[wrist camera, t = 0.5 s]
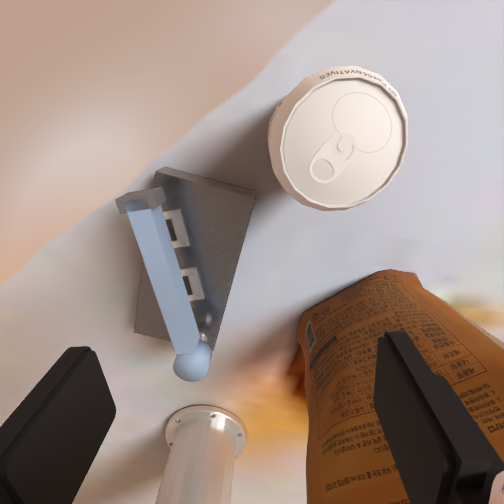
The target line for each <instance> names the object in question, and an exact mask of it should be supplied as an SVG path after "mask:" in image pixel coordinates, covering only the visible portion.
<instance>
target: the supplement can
mask: <svg viewBox="0 0 504 504" xmlns="http://www.w3.org/2000/svg"><path fill="white" fill-rule="evenodd" d="M267 138H268V147H269V152H270V158H271V163H272V168H273V172H274V174H275V175H276V177H277V179H278V180H279V182H280V184H281V185H282V187H283V189H284V190H285V191H286V192H287V193H288V194H289V195H291V196H292V197H293V198H295V199H296V200H297V201H298V202H300V203H301V204H303V205H306V206H309V207H312V208H315V209H318V210H321V211H334V210H346V209H349V208H352V207H354V206H357V205H360V204H363V203H365V202H367V201H368V200H370V199H371V198H373V197H374V196H375V195H376V194H378V193H379V192H380V191H382V190H383V189H384V188H385V187H387V186H388V184H389V183H390V182H391V180H392V179H393V177H394V176H395V175H396V173H397V172H398V170H399V169H400V167H401V165H402V162H403V159H404V156H405V152H406V149H407V146H408V119H407V114H406V111H405V109H404V106H403V104H402V102H401V99H400V97H399V94H398V92H397V91H396V90H395V89H394V88H393V87H392V86H391V85H390V84H389V83H388V82H387V81H386V80H385V79H384V78H383V77H382V76H381V75H379V74H377V73H374V72H371V71H368V70H366V69H363V68H360V67H358V66H343V67H329V68H326V69H324V70H322V71H320V72H318V73H316V74H313V75H311V76H309V77H307V78H305V79H303V80H302V81H301V82H300V83H299V84H298V85H297V86H296V87H295V88H294V89H293V90H292V91H291V92H290V93H289V94H288V95H287V96H286V97H285V98H284V99H283V100H282V101H281V102H280V103H279V104H278V105H277V106H276V108H275V110H274V112H273V114H272V116H271V118H270V120H269V127H268V134H267Z"/></svg>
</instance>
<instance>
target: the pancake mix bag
mask: <svg viewBox="0 0 504 504" xmlns="http://www.w3.org/2000/svg"><path fill="white" fill-rule="evenodd" d="M387 331H405V332H406V333H407V334H408V335H409V337H410V338H411V340H412V341H413V343H414V345H415V346H416V348H417V349H418V351H419V352H420V354H421V355H422V357H423V358H424V360H425V361H426V363H427V364H428V366H429V367H430V369H431V370H432V372H433V373H434V374H440V375H442V376H443V377H444V378H445V379H446V380H447V381H448V383H449V384H450V386H451V387H452V389H453V390H454V391H455V393H456V394H457V396H458V397H459V399H460V400H461V402H462V403H463V404H464V406H465V407H466V409H467V410H468V412H469V413H470V415H471V416H472V417H473V419H474V420H475V422H476V423H477V425H478V426H479V428H480V429H481V430H482V432H483V433H484V435H485V436H486V438H487V439H488V441H489V442H490V443H491V445H492V446H493V448H494V449H495V451H496V452H497V454H498V455H499V456H500V458H501V459H502V461H503V462H504V343H503V342H502V341H500V340H499V339H497V338H496V337H494V336H493V335H491V334H490V333H488V332H487V331H485V330H484V329H482V328H481V327H480V326H478V325H477V324H475V323H474V322H472V321H471V320H469V319H468V318H466V317H465V316H463V315H462V314H461V313H460V312H458V311H457V310H456V309H455V308H453V307H452V306H451V305H449V304H448V303H447V302H445V301H444V300H442V299H440V298H439V297H437V296H435V295H434V294H432V293H431V292H429V291H427V290H426V289H424V288H423V287H422V285H421V283H420V280H419V279H418V277H417V275H416V273H409V272H402V271H397V270H392V269H389V270H383V271H378V272H376V273H374V274H372V275H370V276H368V277H366V278H365V279H363V280H361V281H359V282H358V283H356V284H354V285H352V286H350V287H348V288H346V289H345V290H343V291H341V292H339V293H338V294H336V295H334V296H333V297H331V298H329V299H327V300H325V301H324V302H322V303H319V304H317V305H315V306H313V307H312V308H310V309H308V310H306V311H305V312H304V314H303V315H302V317H301V319H300V322H299V326H298V331H297V339H298V341H299V343H300V345H301V347H302V349H303V353H304V356H305V364H306V376H305V391H306V399H307V407H308V416H309V434H308V443H307V455H306V485H307V504H410V501H409V499H408V496H407V493H406V491H405V488H404V485H403V483H402V480H401V477H400V475H399V472H398V469H397V467H396V464H395V461H394V459H393V456H392V453H391V451H390V448H389V445H388V443H387V440H386V438H385V435H384V432H383V430H382V427H381V424H380V422H379V419H378V416H377V414H376V411H375V407H374V402H373V395H374V383H375V372H376V360H377V348H378V338H379V337H382V336H384V333H385V332H387Z"/></svg>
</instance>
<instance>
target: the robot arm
mask: <svg viewBox="0 0 504 504" xmlns="http://www.w3.org/2000/svg"><path fill="white" fill-rule="evenodd" d="M373 402H374V407H375V411H376V414H377V416H378V419H379V422H380V424H381V427H382V430H383V432H384V435H385V438H386V440H387V443H388V445H389V448H390V451H391V453H392V456H393V459H394V461H395V464H396V467H397V469H398V472H399V475H400V477H401V480H402V483H403V485H404V488H405V491H406V493H407V496H408V499H409V501H410V504H504V462H503V461H502V459H501V458H500V456H499V455H498V454H497V452H496V451H495V449H494V448H493V446H492V445H491V443H490V442H489V441H488V439H487V438H486V436H485V435H484V433H483V432H482V430H481V429H480V428H479V426H478V425H477V423H476V422H475V420H474V419H473V417H472V416H471V415H470V413H469V412H468V410H467V409H466V407H465V406H464V404H463V403H462V402H461V400H460V399H459V397H458V396H457V394H456V393H455V391H454V390H453V389H452V387H451V386H450V384H449V383H448V381H447V380H446V379H445V378H444V377H443V376H442V375H440V374H434V373H433V372H432V370H431V369H430V367H429V366H428V364H427V363H426V361H425V360H424V358H423V357H422V355H421V354H420V352H419V351H418V349H417V348H416V346H415V345H414V343H413V341H412V340H411V338H410V337H409V335H408V334H407V333H406V332H405V331H387V332H385V333H384V336H382V337H379V338H378V348H377V360H376V372H375V383H374V395H373ZM115 415H116V407H115V404H114V401H113V398H112V396H111V393H110V390H109V387H108V385H107V382H106V379H105V377H104V374H103V371H102V368H101V366H100V363H99V360H98V358H97V355H96V353H95V351H92V350H91V348H90V347H87V346H83V347H70V348H68V349H67V350H66V351H65V352H64V353H63V355H62V356H61V357H60V358H59V359H58V360H57V362H56V363H55V364H54V365H53V366H52V367H51V369H50V370H49V371H48V372H47V373H46V374H45V376H44V377H43V378H42V379H41V380H40V381H39V383H38V384H37V385H36V386H35V387H34V388H33V390H32V391H31V392H30V393H29V394H28V395H27V397H26V398H25V399H24V400H23V401H22V402H21V404H20V405H19V406H18V407H17V408H16V409H15V411H14V412H13V413H12V414H11V415H10V416H9V418H8V419H7V420H6V421H5V422H4V423H3V425H2V426H1V427H0V504H72V502H73V500H74V498H75V496H76V494H77V492H78V490H79V488H80V486H81V484H82V482H83V480H84V478H85V476H86V474H87V472H88V470H89V468H90V466H91V464H92V462H93V460H94V458H95V456H96V454H97V452H98V450H99V448H100V446H101V444H102V442H103V440H104V438H105V436H106V434H107V432H108V430H109V428H110V426H111V424H112V422H113V420H114V418H115ZM165 439H166V442H167V444H168V446H169V447H170V453H169V456H168V460H167V463H166V467H165V470H164V474H163V477H162V481H161V484H160V488H159V491H158V495H157V498H156V502H155V504H230V502H231V491H232V480H233V468H234V459H235V458H237V457H238V456H239V455H240V454H241V453H242V452H243V450H244V448H245V444H246V431H245V428H244V426H243V424H242V423H241V422H240V420H239V419H238V418H236V417H235V416H234V415H233V414H231V413H229V412H228V411H226V410H223V409H221V408H217V407H213V406H206V405H199V406H191V407H187V408H184V409H182V410H180V411H178V412H176V413H175V414H174V415H173V416H172V417H171V418H170V420H169V421H168V424H167V427H166V430H165Z"/></svg>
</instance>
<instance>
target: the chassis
mask: <svg viewBox="0 0 504 504" xmlns="http://www.w3.org/2000/svg"><path fill="white" fill-rule="evenodd" d="M158 187H162V188H163V191H164V194H165V198H166V201H164V202H163V203H162V204H161V207H162V211H163V214H164V217H165V221H166V224H167V227H168V231H169V234H170V237H171V241H172V244H173V247H174V251H175V254H176V257H177V261H178V264H179V268H180V271H181V274H182V278H183V281H184V284H185V288H186V291H187V294H188V298H189V301H190V304H191V308H192V311H193V314H194V318H195V321H196V324H197V328H198V331H199V334H200V338H199V339H200V340H202V341H204V342H206V343H207V344H208V345H209V346H210V348H211V350H212V351H214V347H215V343H216V340H217V336H218V333H219V329H220V325H221V322H222V318H223V314H224V311H225V307H226V304H227V300H228V296H229V293H230V289H231V285H232V282H233V278H234V275H235V271H236V267H237V264H238V260H239V256H240V253H241V249H242V246H243V242H244V238H245V235H246V231H247V227H248V224H249V220H250V217H251V213H252V209H253V206H254V202H255V199H256V192H255V191H252V190H248V189H244V188H241V187H237V186H233V185H230V184H226V183H223V182H219V181H215V180H212V179H208V178H204V177H201V176H197V175H193V174H190V173H186V172H182V171H179V170H175V169H172V168H168V167H163V168H161V169H159V170H157V171H156V174H155V181H154V188H158ZM134 333H139V334H143V335H147V336H151V337H156V338H160V339H164V340H168V341H171V338H170V335H169V333H168V330H167V327H166V324H165V321H164V318H163V315H162V312H161V309H160V307H159V304H158V301H157V298H156V295H155V292H154V289H153V286H152V283H151V281H150V278H149V275H148V272H147V269H146V266H145V263H144V261H143V268H142V276H141V283H140V290H139V297H138V305H137V312H136V319H135V327H134Z"/></svg>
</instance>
